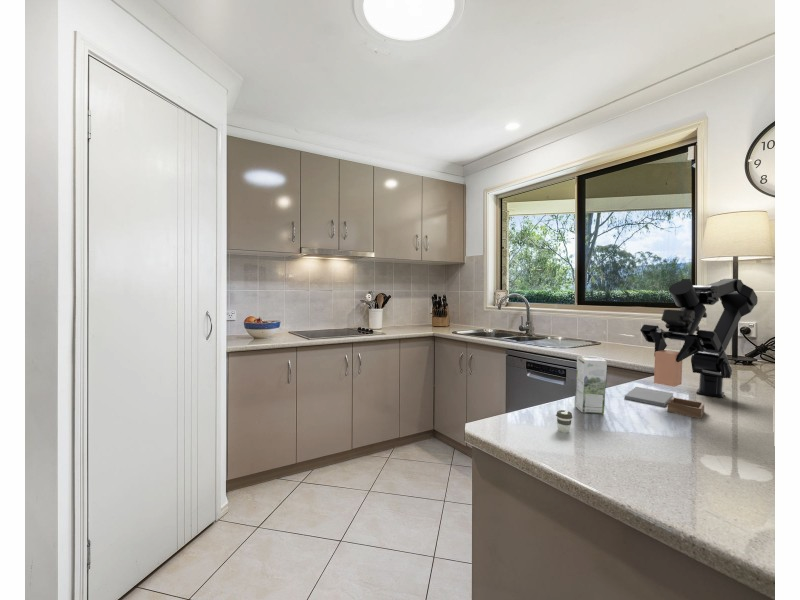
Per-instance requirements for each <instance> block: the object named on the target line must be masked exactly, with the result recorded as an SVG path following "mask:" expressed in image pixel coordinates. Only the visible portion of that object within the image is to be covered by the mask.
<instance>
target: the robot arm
mask: <svg viewBox="0 0 800 600" xmlns="http://www.w3.org/2000/svg"><path fill="white" fill-rule="evenodd" d="M668 293H670V296H671V297H672V299H673V302H674V303H675V306H677V307H678V308H680V309H663V312H662V317H661V319H660V320H661V321H662V322H664V323H665V325H664V326H665V328H666V329H667V330H665V329H662V328H660V327H659V325H657V324H656V325H655V324H646V323H645V324H643V325H642V326H641V327H640V328H639V329H640V333H642V335H643V337H644V339H645V341H646V342H648V343H652V344H653V343H654V354H653V357H655V352H656V351H660V350H666V348H667V346H668V344H667V342H666V340H667V339H669V340H673V341H681V342H684V343H683V344H682V346H681V348H680V349H679V351H678V352H679V354H678V355H677V358H676V361H677V362H680V361H682V362H683V360H686V359H687V358H688V357H690V356H691V358H690V363H691V369H692V370H691V371H692V373H694V374H699V385H698V388H697V390H696V392H695V393H696V394H697V395H704V396H709V397H710V396H711V397H715V398H722V399H723V398H724V396H725V392H724V391H723V385H724V384H723V383H724V382H723V381H724V379H731V378H732V374H733V369H732V367H731V365H730V362H729V358H728V356H727V353H726V350H727V348H728V347H729V344H730V342H731V339H732V338H733V335H734V333H735V330H736V329H737V328H738V325H739V323H740V320H741V318H742V317H743V316H746V315H748V314H750V313H751V312H752V311H753V309H754V308H755V307H756V306H757V305H758V296H757V294H756V292H755V290H754V289H753V288H752V287H750V286H748V285H747V284H744V283H743V281H742V280H741V279H738V278H723V279H719V280H718V281H715V282H712V283H710V284H706V285H694V284H693V282H692V280H691V278H682V279H681V280H679V281H677V282H674V283H673V284H672V285H670V286H669V288H668ZM719 301H721V302H720V303H721V305H722V308H723V311H722V312H721V315H720V317H719V319H718V321H717V323H716V325H715V327H714V329H713V330H704V329H700V327H699V324H700V322H701V321H702V319H703V318H705V319H706V318H707V317H708V314H707V308H706V306H713V305H715V304H716V303H718V302H719ZM695 332H696V334H695Z"/></svg>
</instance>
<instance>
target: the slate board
mask: <svg viewBox="0 0 800 600" xmlns="http://www.w3.org/2000/svg"><path fill="white" fill-rule="evenodd" d="M672 397H674V392H668V391H662V390H657V389H651V388H645V387H640V386H635V387H634V388H633V389H631V390H629V391H628V393H626V394H624V400H628V399H630V401H633V400H635V401H634V402H638V401H640V403H643V402H645V404H648V403H650V404H649V405H653V406H659V407H665V406H666V405H668V402H669V401H670V399H671V398H672Z"/></svg>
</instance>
